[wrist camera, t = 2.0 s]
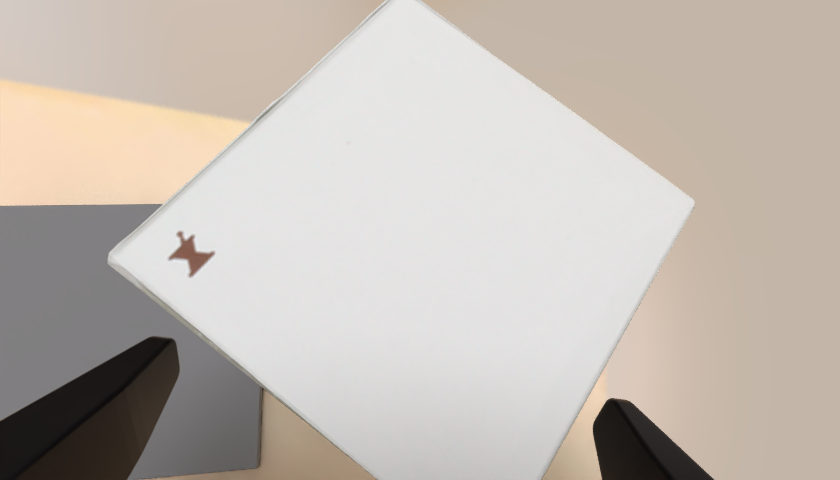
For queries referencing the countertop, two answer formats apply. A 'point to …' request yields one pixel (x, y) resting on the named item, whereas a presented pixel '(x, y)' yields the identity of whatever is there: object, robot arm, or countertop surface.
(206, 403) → the rubber mat
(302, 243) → the supplement box
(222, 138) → the countertop surface
